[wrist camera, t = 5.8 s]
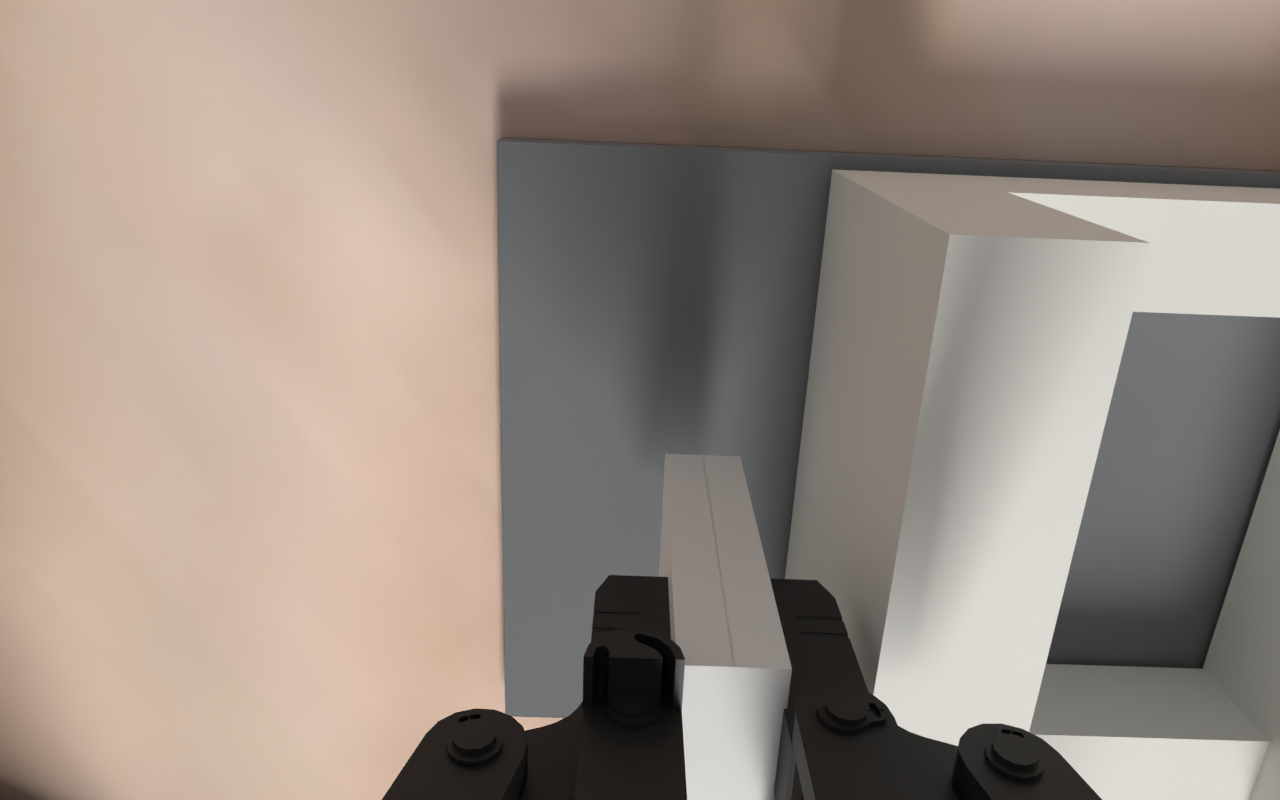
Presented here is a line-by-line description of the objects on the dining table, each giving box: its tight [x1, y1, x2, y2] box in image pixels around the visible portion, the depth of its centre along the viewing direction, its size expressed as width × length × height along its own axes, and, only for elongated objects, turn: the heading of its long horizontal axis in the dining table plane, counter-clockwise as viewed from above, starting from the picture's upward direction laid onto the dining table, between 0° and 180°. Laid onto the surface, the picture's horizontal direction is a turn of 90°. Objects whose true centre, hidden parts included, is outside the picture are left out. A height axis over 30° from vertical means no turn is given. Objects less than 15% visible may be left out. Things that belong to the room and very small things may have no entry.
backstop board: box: [497, 138, 1280, 718], centre depth 18 cm, size 28×14×7 cm, turn 88°
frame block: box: [785, 169, 1280, 800], centre depth 17 cm, size 13×14×7 cm
